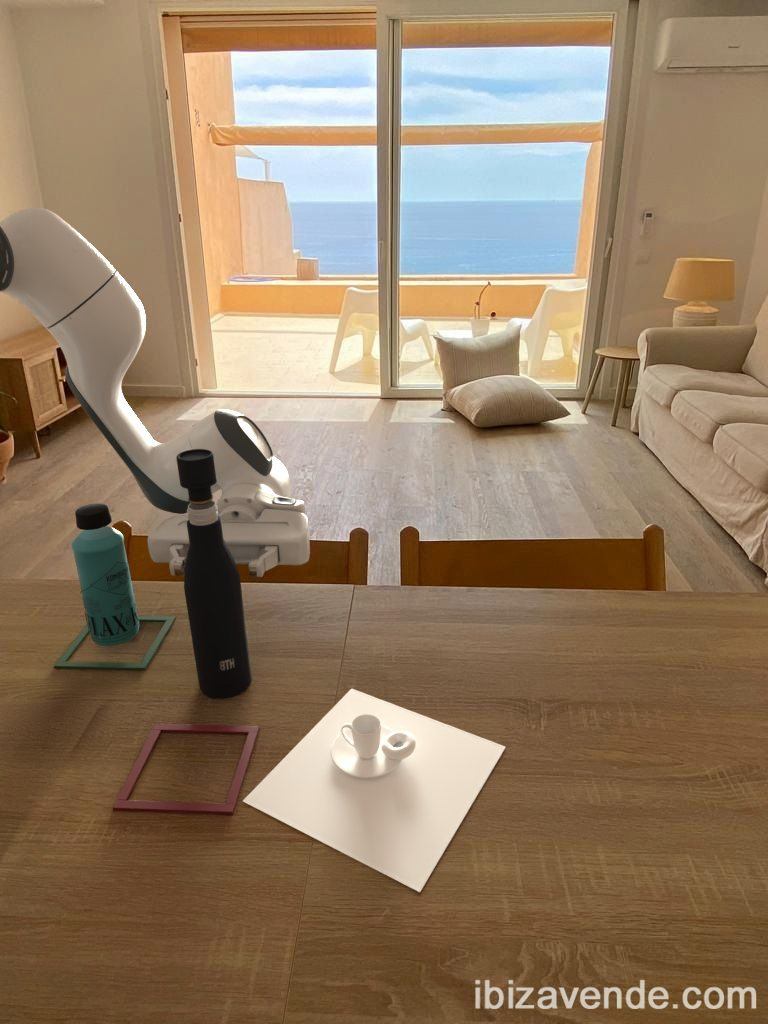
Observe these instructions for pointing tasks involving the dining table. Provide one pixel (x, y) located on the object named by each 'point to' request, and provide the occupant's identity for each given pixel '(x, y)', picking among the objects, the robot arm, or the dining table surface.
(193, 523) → the insulated water bottle
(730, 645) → the dining table surface
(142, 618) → the green square
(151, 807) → the red square
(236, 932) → the dining table surface
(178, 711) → the dining table surface
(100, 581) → the beverage bottle
